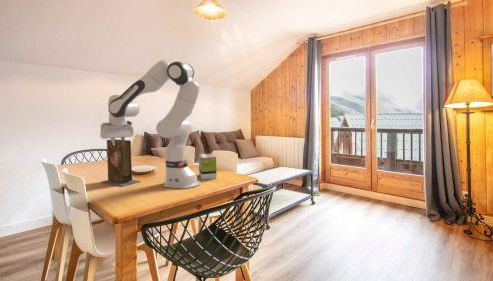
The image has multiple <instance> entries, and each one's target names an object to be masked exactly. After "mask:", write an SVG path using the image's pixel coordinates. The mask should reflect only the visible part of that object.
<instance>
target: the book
mask: <svg viewBox="0 0 493 281" xmlns="http://www.w3.org/2000/svg"><path fill="white" fill-rule="evenodd" d="M114 141H115V146H113V143H112V141H111V139H106V158H107V180H110V181H116V182H122V183H123V182H126V181H131V180H133V175H132V174H133V172H132V171H133V170H132V168H133V167H132V144H131V143H132V142H131V140H130V139H129V140H127V139H125V140H122V139H115V140H114Z"/></svg>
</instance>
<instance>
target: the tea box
mask: <svg viewBox="0 0 493 281" xmlns="http://www.w3.org/2000/svg"><path fill="white" fill-rule="evenodd" d="M198 175H199V177H200V178H201V180H203V181H204V179H205V180H214V179H215V180H216V179H217V156H216V155H214V154H213V153H200V154H198Z"/></svg>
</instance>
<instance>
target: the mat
mask: <svg viewBox="0 0 493 281" xmlns="http://www.w3.org/2000/svg"><path fill="white" fill-rule="evenodd" d="M137 183H141V180H137V179H132V180H131V181H126V182H123V183H122V182H116V181H110V180H108V179H107V180H103V181H100V184H105V185H106V184H107V185H109V186H111V185H112V186H117V187H120V188H123V187H126V186H130V185H133V184H137Z"/></svg>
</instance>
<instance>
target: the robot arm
mask: <svg viewBox="0 0 493 281" xmlns="http://www.w3.org/2000/svg"><path fill="white" fill-rule="evenodd" d="M194 70H195V69H194V68H193V66H192V65H190V64H189V63H186V62H184V61H173V62H169V61H168V60H165V59H161V60H159V61H157V62H156V63H154V65H152V67H150V68H149V69H148V70H147V72H146V73H145V74H143V76H141V78H139V79H137V80H136V81H135V82H133V83H131V85H130V86H129V87H128V88H127V89H125V91H124V92H122V94H115V95H110V96H109V98H108V102H107V107H108V109H107V111H108V122H102V123H101V124H100V131H99V132H100V134H99V137H100V138H101V139H102V140H105V139H106V140H109V139H110V140H111V141H112V143H113V146H115V141H114V140H116V139H119V138H120V140H126V138H131V137H134V133H135V132H134V126H133V125H134V123H133V121H132V120H127V119H126V118H133V117H137V115H139V113H140V106H139V104H138V102H136V101H134V100H135V99H136V98H137V97H139V96H141V95H143V94H148V93H156V92H158V91H159V90H160V89H161V88H163V87H164V85H165V84H166V83H167V82H168V81H169V80H171V81H173V82H174V83H175V84H176V85H177V86H179V90H178V92H177V96H176V98H175V100H174V102H173V105H172V107H171V109H170V110H169V111H168V113H167V114H166V115H165V116H164V118H162V119H161V120H159V121H158V122H157V124H156V126H155V127H156V128H155V130H156V133H157V134H158V136H160V137H161V138H165V139H170V141H169V143H168V145H166V148H165V157H166V158H165V167H166V168H165V169H166V170H165V176H164V178H165V179H164V183H163V186H164V187H165V188H175V189H191V188H195V187H198V186H200V185H202V182H201V181H200V180H198V176H197V173H196V172H195V171H193V169H191V168H190V167H189V164H190V163H189V161H187V159H186V147H187V146H186V145H187V141H188V138H189V136H190V134H191V133H192V130H193V124H192V122H191V121H189V120H187V118H188V117H190V116H191V115H192V113H193V110H194V108H195V105H196V103H197V100H198V97H199V94H200V88H201V87H200V84H199V83H198V81H195V80H194V76H195V71H194Z"/></svg>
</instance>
